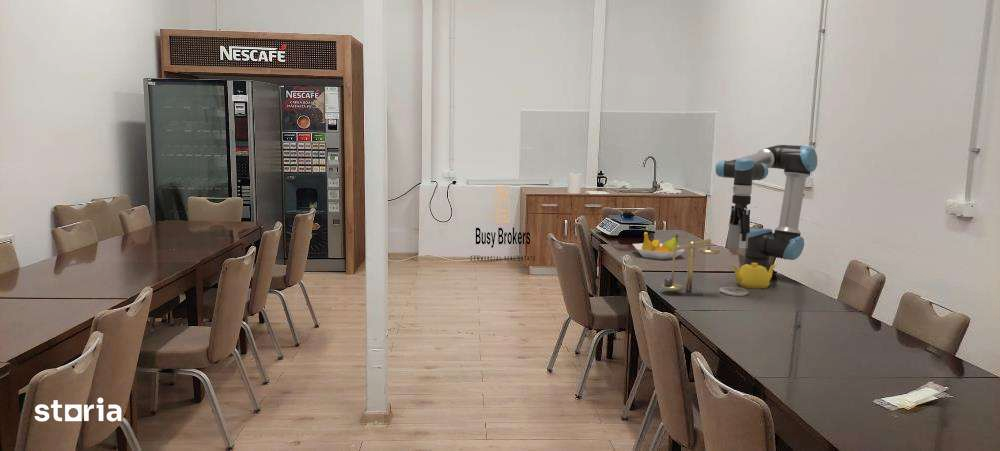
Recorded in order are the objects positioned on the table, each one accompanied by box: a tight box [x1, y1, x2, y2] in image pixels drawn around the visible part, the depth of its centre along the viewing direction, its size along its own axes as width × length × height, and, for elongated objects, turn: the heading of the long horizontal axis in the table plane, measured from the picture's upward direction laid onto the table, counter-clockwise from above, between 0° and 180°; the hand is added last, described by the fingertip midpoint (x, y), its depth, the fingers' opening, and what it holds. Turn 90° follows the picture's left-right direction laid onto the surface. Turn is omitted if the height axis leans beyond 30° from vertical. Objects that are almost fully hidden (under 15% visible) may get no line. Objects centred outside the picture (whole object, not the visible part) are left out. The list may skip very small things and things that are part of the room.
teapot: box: [731, 263, 778, 290], centre depth 327 cm, size 22×16×11 cm
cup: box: [726, 222, 749, 250], centre depth 308 cm, size 8×8×10 cm
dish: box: [719, 286, 749, 297], centre depth 312 cm, size 12×12×1 cm
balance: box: [660, 238, 721, 297], centre depth 307 cm, size 24×9×24 cm, turn 96°
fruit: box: [632, 231, 686, 261], centre depth 391 cm, size 30×26×14 cm
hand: (737, 246), depth 309 cm, fingers closed on cup, 8 cm apart
